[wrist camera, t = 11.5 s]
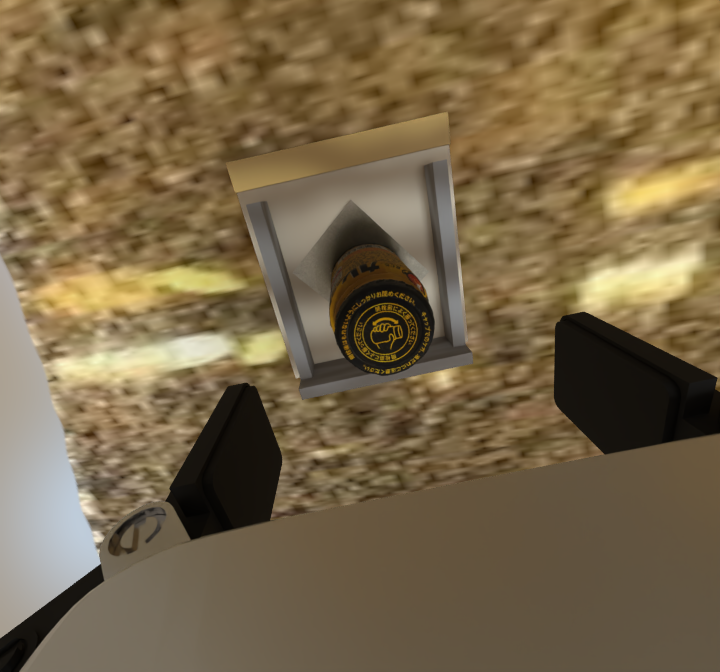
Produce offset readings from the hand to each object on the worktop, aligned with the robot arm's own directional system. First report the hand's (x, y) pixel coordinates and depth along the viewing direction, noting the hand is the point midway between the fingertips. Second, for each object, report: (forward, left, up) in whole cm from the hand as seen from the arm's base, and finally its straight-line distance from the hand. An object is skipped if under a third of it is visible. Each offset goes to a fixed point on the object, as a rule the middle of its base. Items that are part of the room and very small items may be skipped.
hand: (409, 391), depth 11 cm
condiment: (0, 0, -19) cm, 19 cm away
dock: (-1, 0, -22) cm, 22 cm away
